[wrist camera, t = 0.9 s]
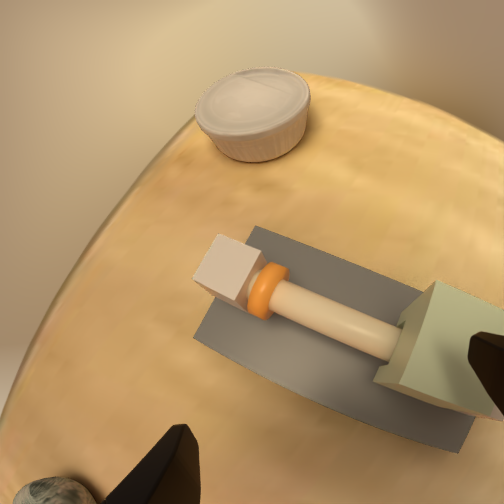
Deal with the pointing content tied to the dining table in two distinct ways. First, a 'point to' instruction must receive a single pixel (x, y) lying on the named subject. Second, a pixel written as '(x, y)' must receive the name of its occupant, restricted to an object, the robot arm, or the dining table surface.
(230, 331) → the cord board
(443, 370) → the matte sage green cube
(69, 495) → the grey rounded oval lump
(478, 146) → the dining table surface
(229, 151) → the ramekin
